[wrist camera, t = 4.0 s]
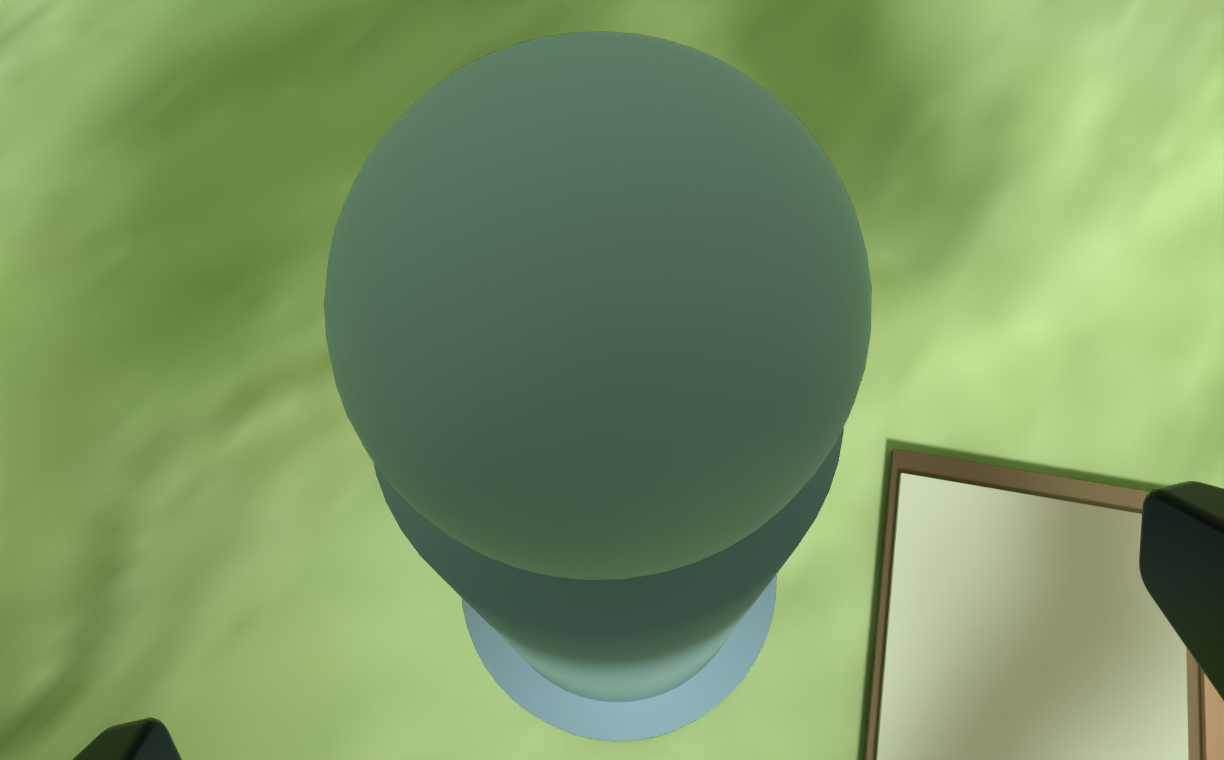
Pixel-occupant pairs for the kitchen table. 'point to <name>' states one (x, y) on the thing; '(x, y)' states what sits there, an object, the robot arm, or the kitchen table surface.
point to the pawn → (602, 362)
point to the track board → (1025, 625)
